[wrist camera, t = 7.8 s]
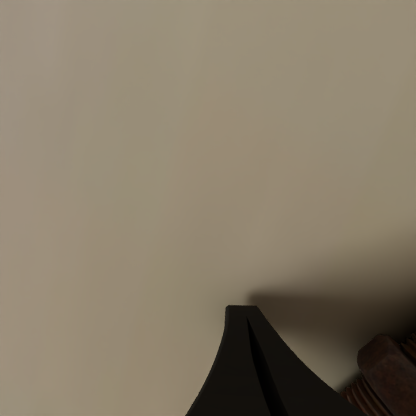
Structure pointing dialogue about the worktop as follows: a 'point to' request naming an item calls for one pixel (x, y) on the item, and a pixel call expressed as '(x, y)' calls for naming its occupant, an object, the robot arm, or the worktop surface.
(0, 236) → the worktop surface
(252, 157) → the worktop surface
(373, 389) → the bolt
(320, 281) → the worktop surface
